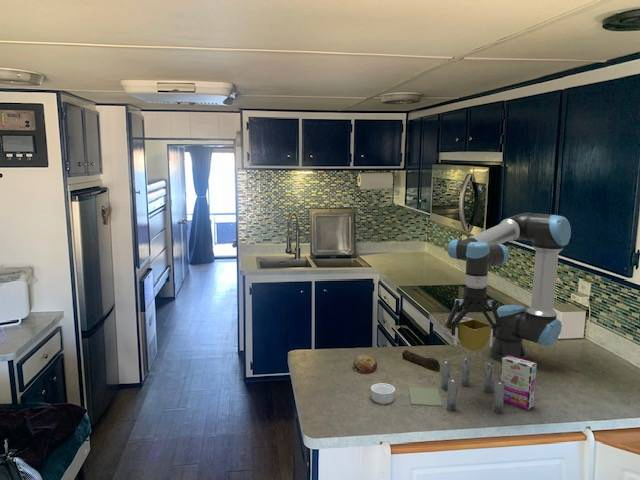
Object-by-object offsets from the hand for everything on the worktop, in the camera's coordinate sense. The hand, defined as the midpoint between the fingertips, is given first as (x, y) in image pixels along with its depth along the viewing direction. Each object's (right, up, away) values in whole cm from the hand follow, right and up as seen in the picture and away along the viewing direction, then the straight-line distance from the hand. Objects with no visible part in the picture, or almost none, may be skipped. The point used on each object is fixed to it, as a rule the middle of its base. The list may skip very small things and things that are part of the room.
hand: (472, 344), depth 184 cm
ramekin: (-32, -21, +4) cm, 38 cm away
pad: (-16, -21, +5) cm, 27 cm away
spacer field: (0, -21, +6) cm, 21 cm away
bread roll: (-36, -17, +30) cm, 50 cm away
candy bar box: (+16, -22, +1) cm, 27 cm away
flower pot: (0, -1, 0) cm, 1 cm away
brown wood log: (-11, -16, +35) cm, 40 cm away
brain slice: (+19, -8, +82) cm, 84 cm away
